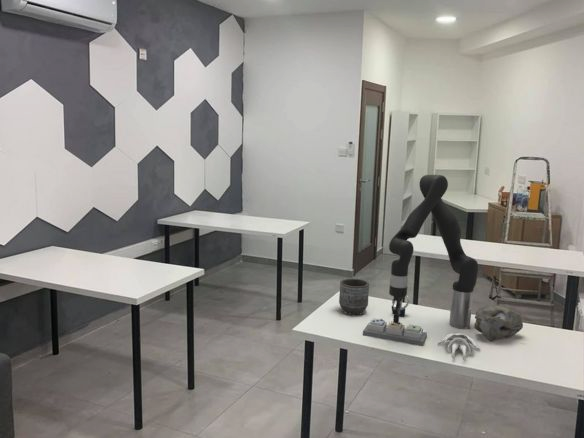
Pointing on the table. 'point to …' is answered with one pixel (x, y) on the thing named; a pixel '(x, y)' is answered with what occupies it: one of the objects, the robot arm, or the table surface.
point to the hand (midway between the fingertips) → (395, 322)
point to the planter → (353, 295)
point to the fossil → (497, 322)
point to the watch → (403, 309)
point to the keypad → (395, 334)
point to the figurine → (459, 344)
